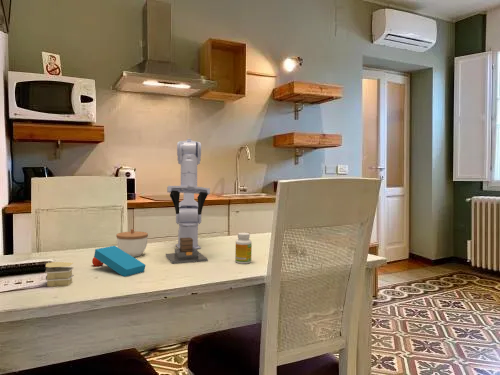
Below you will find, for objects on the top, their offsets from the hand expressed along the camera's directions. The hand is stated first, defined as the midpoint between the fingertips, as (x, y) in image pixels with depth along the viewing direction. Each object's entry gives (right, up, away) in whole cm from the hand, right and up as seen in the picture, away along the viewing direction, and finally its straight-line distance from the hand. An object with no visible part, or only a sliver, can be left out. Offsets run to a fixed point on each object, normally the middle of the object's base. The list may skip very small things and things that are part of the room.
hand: (188, 213), depth 137 cm
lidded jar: (-21, -15, +7) cm, 27 cm away
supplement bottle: (+19, -16, -1) cm, 25 cm away
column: (-1, -16, +3) cm, 16 cm away
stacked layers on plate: (-31, -17, -28) cm, 45 cm away
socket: (-1, -16, +3) cm, 16 cm away
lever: (-21, -17, -13) cm, 30 cm away
